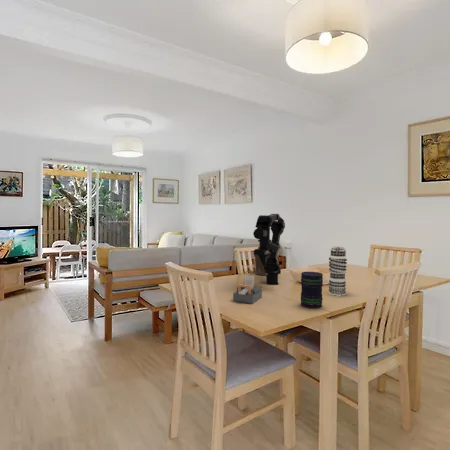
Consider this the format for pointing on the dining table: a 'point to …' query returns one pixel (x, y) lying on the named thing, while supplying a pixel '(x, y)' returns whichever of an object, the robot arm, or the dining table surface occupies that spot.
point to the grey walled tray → (248, 295)
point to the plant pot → (259, 265)
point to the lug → (244, 286)
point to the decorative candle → (337, 271)
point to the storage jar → (311, 289)
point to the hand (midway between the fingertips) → (264, 265)
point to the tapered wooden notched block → (248, 281)
